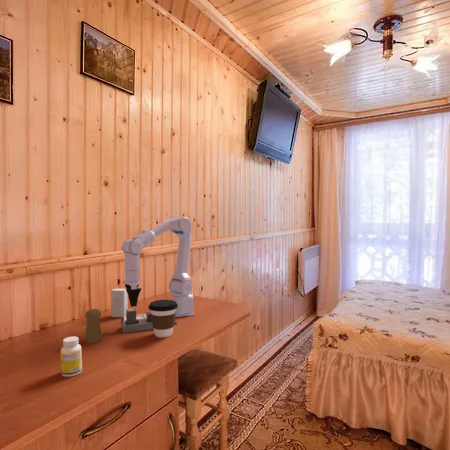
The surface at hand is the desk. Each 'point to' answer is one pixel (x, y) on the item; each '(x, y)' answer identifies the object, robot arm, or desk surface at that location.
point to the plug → (130, 316)
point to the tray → (138, 316)
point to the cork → (93, 326)
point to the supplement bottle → (71, 357)
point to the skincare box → (119, 302)
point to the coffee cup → (163, 317)
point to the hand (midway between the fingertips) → (132, 303)
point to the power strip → (140, 324)
